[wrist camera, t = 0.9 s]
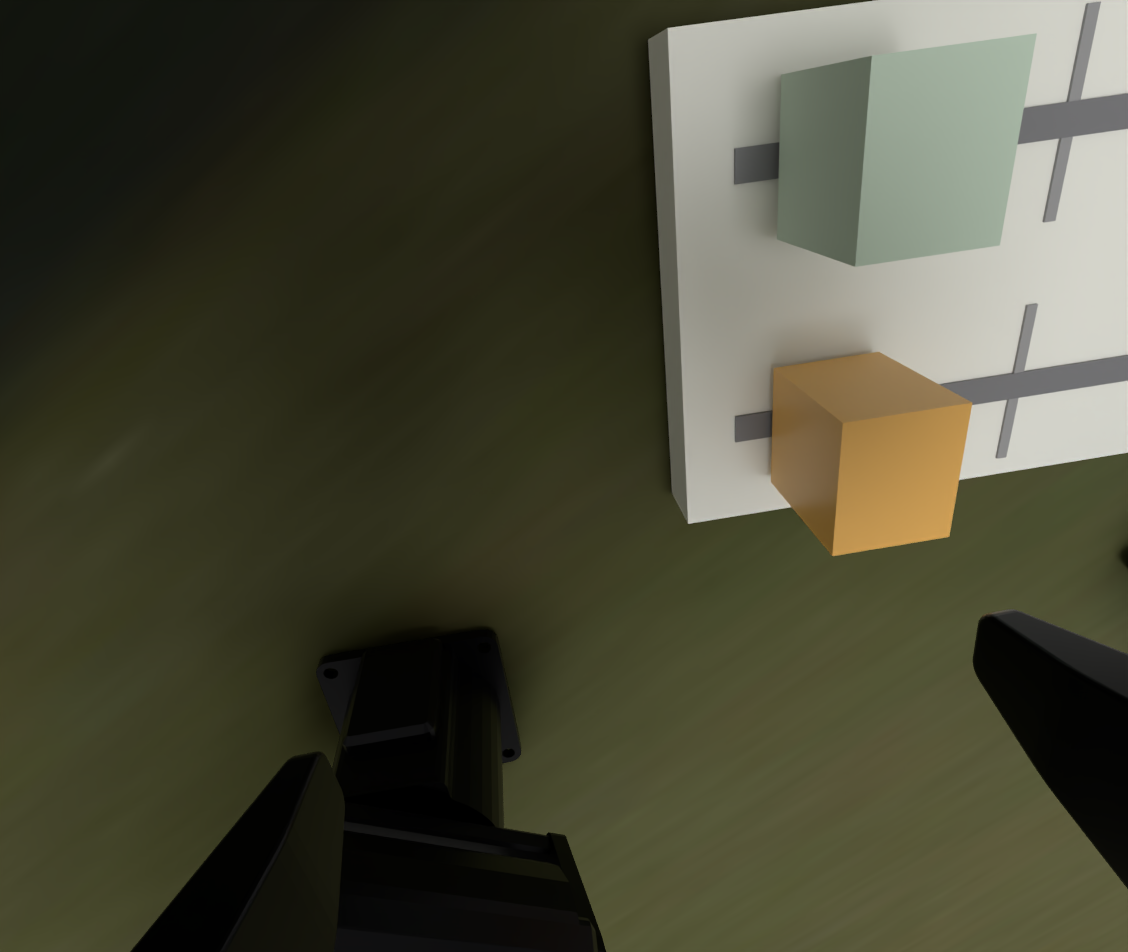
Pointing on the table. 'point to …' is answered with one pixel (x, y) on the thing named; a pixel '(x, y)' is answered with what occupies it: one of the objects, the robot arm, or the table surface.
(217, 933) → the robot arm
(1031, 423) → the mixer console
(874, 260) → the sage fader
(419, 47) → the table surface
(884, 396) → the amber fader
